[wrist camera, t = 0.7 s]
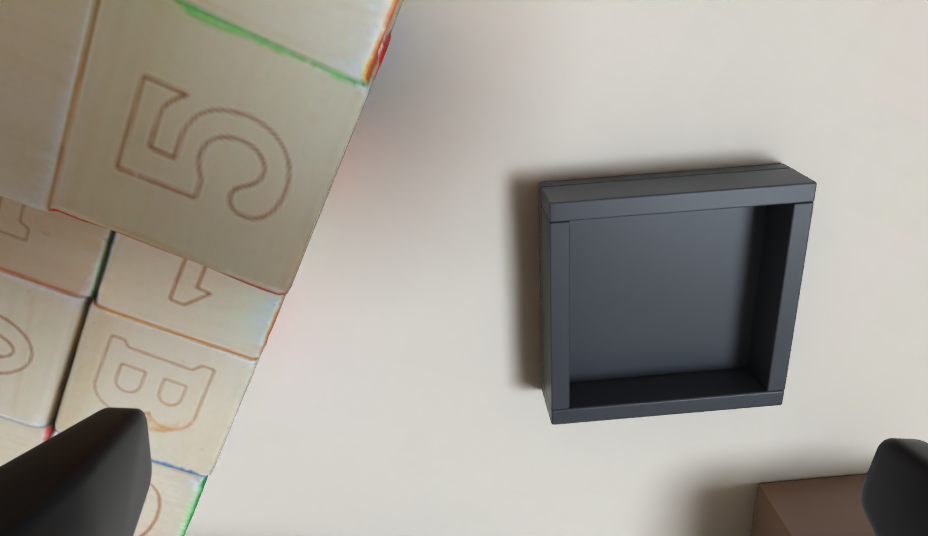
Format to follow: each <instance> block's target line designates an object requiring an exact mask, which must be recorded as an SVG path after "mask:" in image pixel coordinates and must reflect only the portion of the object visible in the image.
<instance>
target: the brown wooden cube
mask: <svg viewBox="0 0 928 536" xmlns="http://www.w3.org/2000/svg"><path fill="white" fill-rule="evenodd" d="M866 476H867V474H863V475H852V476H841V477H829V478H818V479H807V480H796V481H785V482H774V483H763V484H758V489H757V496H756V502H755V509H754V516H753V523H752V530H751V536H875V534H874V532H873V529H872V527H871V525H870V523H869V521H868V519H867V517H866V515H865V512H864V510H863V507H862V503H861V489H862V486H863V483H864V481H865V478H866Z"/></svg>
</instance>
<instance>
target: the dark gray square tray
mask: <svg viewBox="0 0 928 536" xmlns="http://www.w3.org/2000/svg"><path fill="white" fill-rule="evenodd" d="M816 185H817V184H816V182H815V181H813V180H811V179H809V178H808V177H806V176H804V175H803V174H801V173H799V172H797V171H796V170H794V169H792V168H790V167H789V166H787V165H785V164H773V165H760V166H747V167H734V168H721V169H708V170H695V171H682V172H669V173H656V174H643V175H630V176H617V177H604V178H590V179H577V180H564V181H551V182H540V183H539V239H540V299H541V358H542V392H543V395H544V399H545V402H546V406H547V409H548V413H549V416H550V420H551V423H552V424H566V423H577V422H589V421H600V420H612V419H623V418H635V417H646V416H658V415H669V414H681V413H692V412H704V411H715V410H727V409H738V408H750V407H761V406H773V405H781V404H782V401H783V395H784V389H785V383H786V377H787V371H788V364H789V358H790V351H791V345H792V339H793V332H794V326H795V319H796V313H797V306H798V300H799V294H800V287H801V281H802V274H803V268H804V262H805V255H806V249H807V242H808V236H809V229H810V223H811V217H812V210H813V201H814V197H815V191H816Z"/></svg>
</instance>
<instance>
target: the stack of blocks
mask: <svg viewBox="0 0 928 536" xmlns="http://www.w3.org/2000/svg"><path fill="white" fill-rule="evenodd" d="M403 1H404V0H0V466H2V465H4V464H5V463H7V462H9V461H11V460H12V459H14V458H16V457H18V456H20V455H21V454H23V453H25V452H27V451H28V450H30V449H32V448H34V447H36V446H37V445H39V444H41V443H43V442H44V441H46V440H48V439H50V438H51V437H53V436H55V435H57V434H59V433H60V432H62V431H64V430H66V429H67V428H69V427H71V426H73V425H75V424H76V423H78V422H80V421H82V420H83V419H85V418H87V417H89V416H91V415H92V414H94V413H96V412H98V411H99V410H101V409H104V408H107V407H118V408H138V409H141V410H142V411H143V412H144V413H145V416H146V418H147V424H148V434H149V443H150V453H151V462H152V475H151V482H150V486H149V490H148V493H147V496H146V499H145V502H144V505H143V508H142V511H141V514H140V517H139V520H138V523H137V526H136V530H135V533H134V536H184V535H185V532H186V530H187V527H188V525H189V522H190V520H191V518H192V516H193V513H194V511H195V508H196V506H197V503H198V501H199V498H200V496H201V493H202V491H203V488H204V485H205V483H206V480H207V477H208V475H210V474H211V473H212V471H213V469H214V467H215V464H216V462H217V460H218V457H219V455H220V453H221V450H222V448H223V445H224V443H225V440H226V438H227V435H228V433H229V430H230V428H231V426H232V423H233V421H234V418H235V416H236V413H237V411H238V408H239V406H240V404H241V401H242V399H243V397H244V394H245V392H246V390H247V387H248V385H249V382H250V380H251V378H252V375H253V373H254V370H255V368H256V365H257V363H258V360H259V357H260V355H261V353H262V351H263V349H264V347H265V345H266V343H267V339H268V336H269V334H270V332H271V330H272V328H273V326H274V323H275V321H276V318H277V316H278V313H279V310H280V308H281V305H282V303H283V300H284V298H285V295H286V294H287V293H288V291H289V289H290V288H291V286H292V283H293V281H294V278H295V276H296V273H297V271H298V268H299V266H300V263H301V261H302V258H303V256H304V253H305V251H306V248H307V246H308V243H309V241H310V238H311V236H312V233H313V231H314V228H315V226H316V223H317V221H318V218H319V216H320V213H321V211H322V208H323V205H324V203H325V200H326V198H327V196H328V193H329V191H330V188H331V186H332V183H333V181H334V178H335V176H336V173H337V171H338V168H339V166H340V163H341V161H342V158H343V156H344V153H345V151H346V148H347V146H348V143H349V141H350V138H351V136H352V133H353V131H354V128H355V126H356V124H357V121H358V119H359V116H360V114H361V111H362V109H363V106H364V104H365V101H366V99H367V96H368V94H369V91H370V87H371V85H372V82H373V80H374V78H375V76H376V74H377V71H378V69H379V67H380V65H381V63H382V60H383V58H384V55H385V52H386V49H387V47H388V44H389V41H390V38H391V31H392V29H393V26H394V23H395V19H396V17H397V15H398V12H399V10H400V8H401V5H402V3H403Z"/></svg>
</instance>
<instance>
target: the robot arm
mask: <svg viewBox="0 0 928 536" xmlns="http://www.w3.org/2000/svg"><path fill="white" fill-rule="evenodd" d="M151 475H152V462H151V453H150V443H149V434H148V424H147V418H146V416H145V413H144V412H143V411H142V410H141V409H138V408H118V407H107V408H104V409H101V410H99V411H98V412H96V413H94V414H92V415H91V416H89V417H87V418H85V419H83V420H82V421H80V422H78V423H76V424H75V425H73V426H71V427H69V428H67V429H66V430H64V431H62V432H60V433H59V434H57V435H55V436H53V437H51V438H50V439H48V440H46V441H44V442H43V443H41V444H39V445H37V446H36V447H34V448H32V449H30V450H28V451H27V452H25V453H23V454H21V455H20V456H18V457H16V458H14V459H12V460H11V461H9V462H7V463H5V464H4V465H2V466H0V536H134V533H135V530H136V526H137V523H138V520H139V517H140V514H141V511H142V508H143V505H144V502H145V499H146V496H147V493H148V490H149V486H150V482H151ZM861 503H862V507H863V510H864V512H865V515H866V517H867V519H868V521H869V523H870V525H871V527H872V529H873V532H874V534H875V536H928V443H926V442H924V441H921V440H917V439H897V438H890V439H887V440H884V441H883V442H882V443H881V444H880V445H879V447H878V449H877V451H876V453H875V456H874V458H873V461H872V463H871V466H870V468H869V471H868V473H867V476H866V478H865V481H864V483H863V486H862V489H861Z"/></svg>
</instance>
